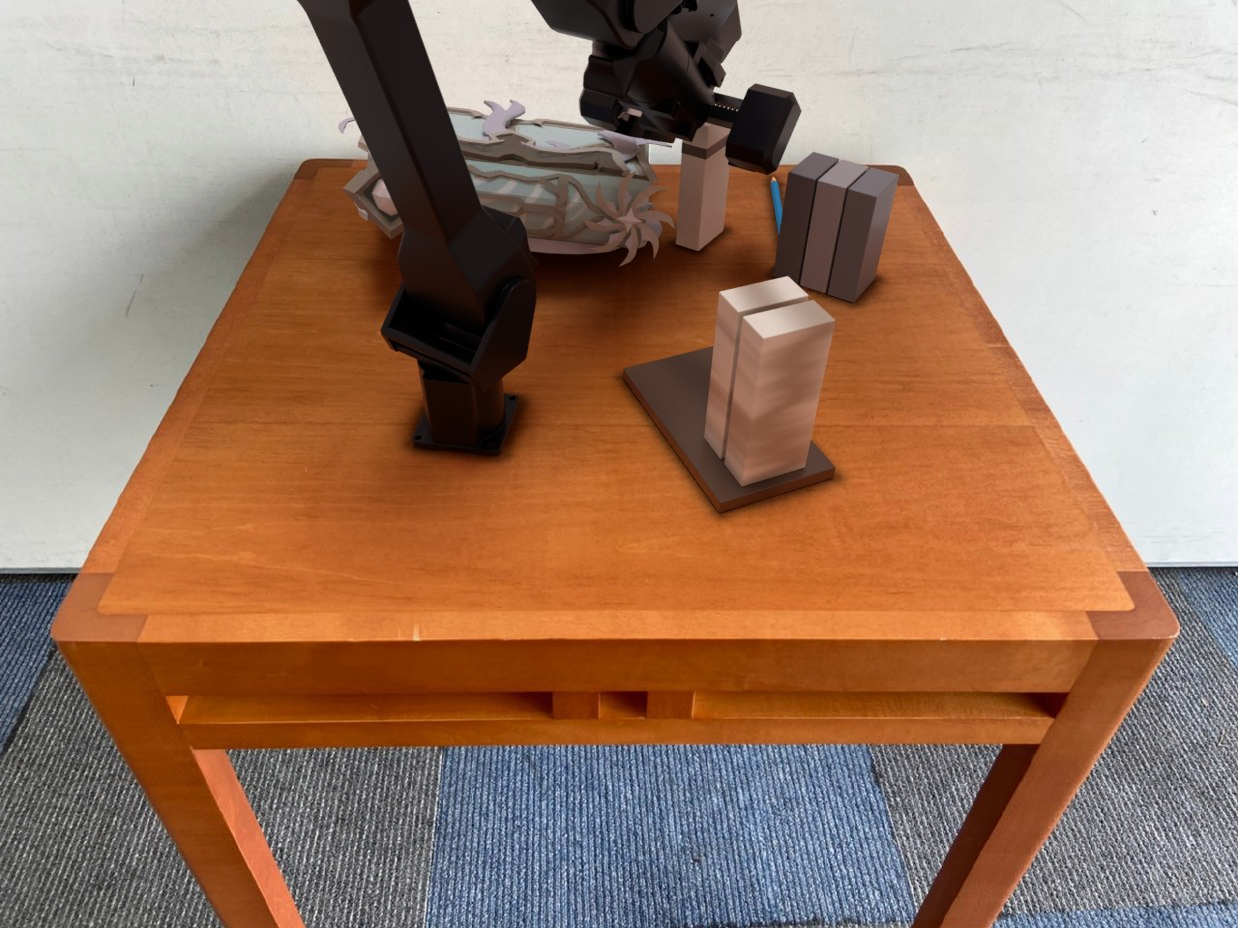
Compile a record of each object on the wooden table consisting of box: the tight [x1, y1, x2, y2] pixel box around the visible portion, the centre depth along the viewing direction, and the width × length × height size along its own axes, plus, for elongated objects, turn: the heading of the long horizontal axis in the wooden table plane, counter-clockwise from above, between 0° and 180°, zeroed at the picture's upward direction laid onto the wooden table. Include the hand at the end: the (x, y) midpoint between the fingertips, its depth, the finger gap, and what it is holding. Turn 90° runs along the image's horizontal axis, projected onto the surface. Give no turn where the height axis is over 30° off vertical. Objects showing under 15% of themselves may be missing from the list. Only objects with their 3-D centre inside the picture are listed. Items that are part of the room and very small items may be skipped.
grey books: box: [772, 151, 900, 304], centre depth 79 cm, size 5×8×10 cm, turn 56°
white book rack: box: [622, 276, 837, 514], centre depth 62 cm, size 9×16×13 cm, turn 23°
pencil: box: [770, 176, 783, 235], centre depth 91 cm, size 1×17×1 cm, turn 177°
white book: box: [675, 104, 733, 252], centre depth 84 cm, size 5×2×12 cm, turn 146°
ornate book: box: [337, 99, 677, 267], centre depth 81 cm, size 23×10×30 cm
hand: (714, 149), depth 83 cm, fingers open, 8 cm apart
